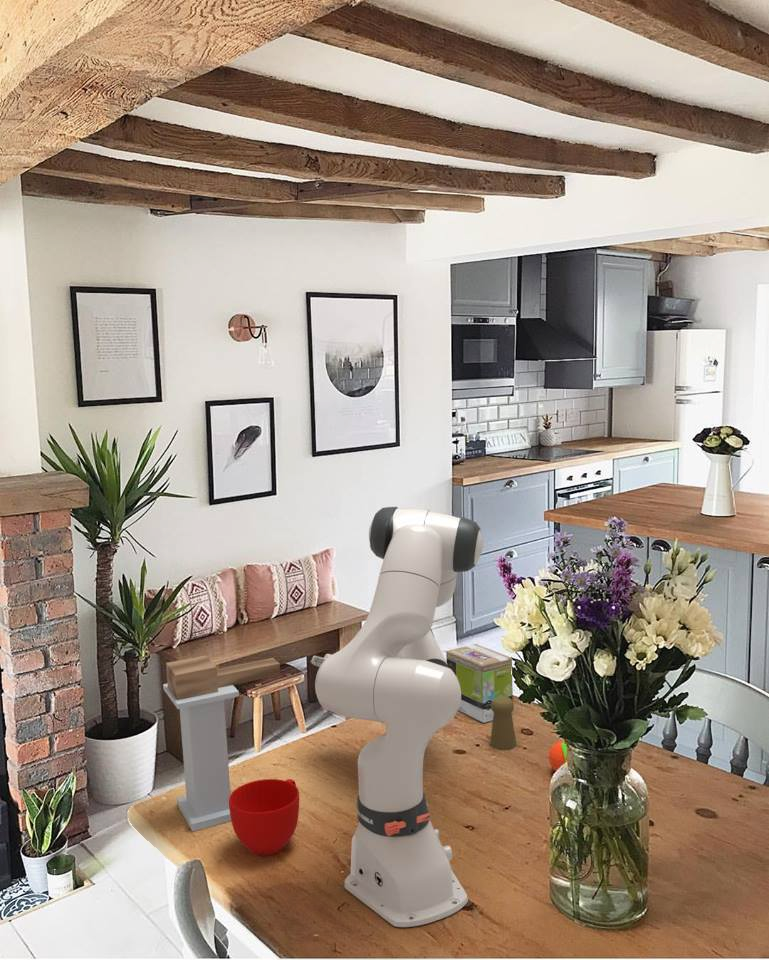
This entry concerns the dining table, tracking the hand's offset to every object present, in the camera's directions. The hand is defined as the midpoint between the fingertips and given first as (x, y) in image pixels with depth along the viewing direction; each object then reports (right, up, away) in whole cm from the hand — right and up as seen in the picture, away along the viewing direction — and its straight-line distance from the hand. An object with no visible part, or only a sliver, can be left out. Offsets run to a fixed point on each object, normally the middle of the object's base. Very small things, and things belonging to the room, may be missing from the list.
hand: (321, 666), depth 190 cm
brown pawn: (+41, -21, +15) cm, 48 cm away
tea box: (+37, -19, +35) cm, 55 cm away
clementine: (+52, -23, 0) cm, 57 cm away
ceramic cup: (-8, -28, -22) cm, 37 cm away
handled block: (-18, -1, -11) cm, 22 cm away
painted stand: (-22, -27, -10) cm, 36 cm away
